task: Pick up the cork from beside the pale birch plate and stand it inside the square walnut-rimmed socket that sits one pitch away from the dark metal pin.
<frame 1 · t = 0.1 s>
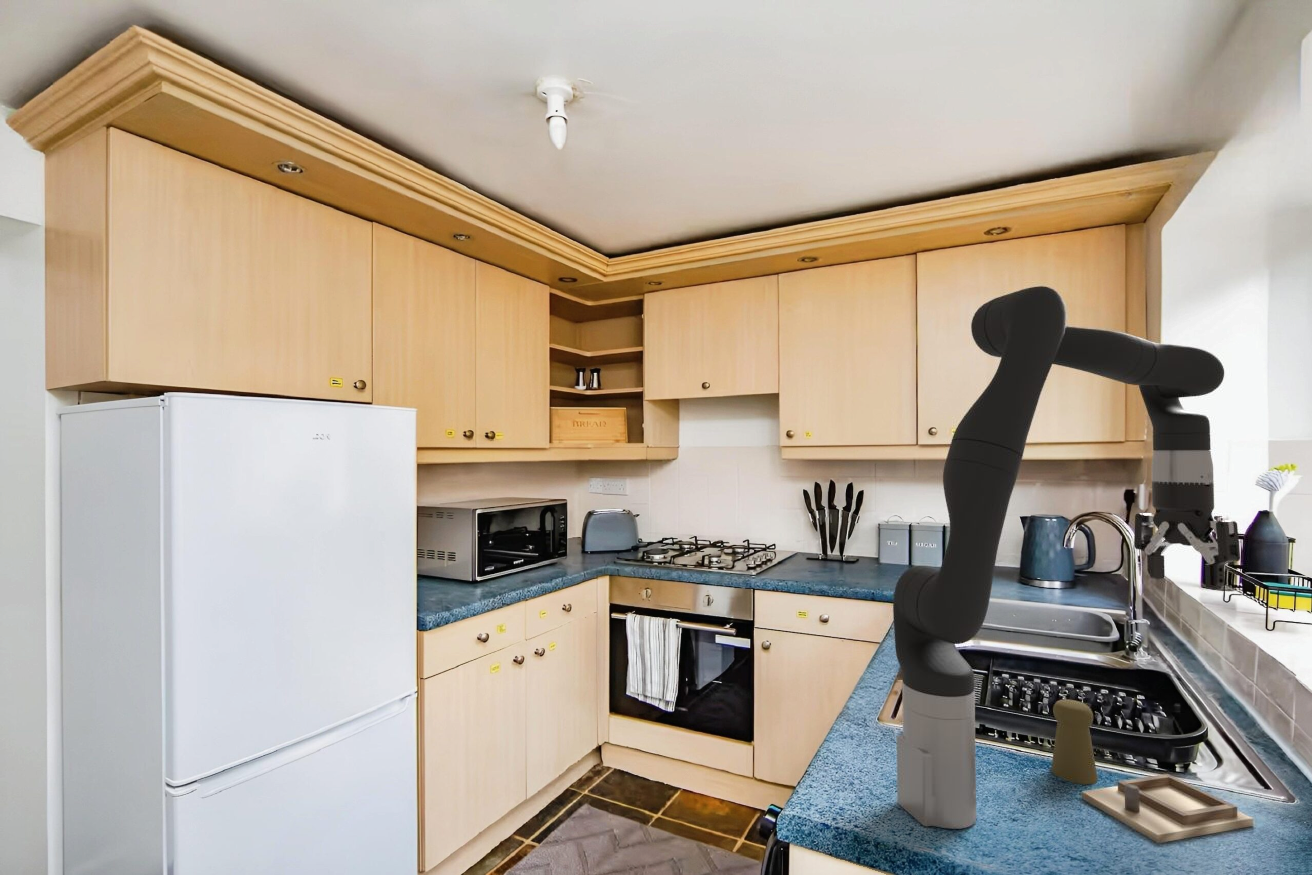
hand: (1184, 583, 101), 29 cm above the worktop, tool pointing down, fingers open, 8 cm apart
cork: (1074, 775, 99), on the worktop
socket plate: (1164, 811, 89), on the worktop
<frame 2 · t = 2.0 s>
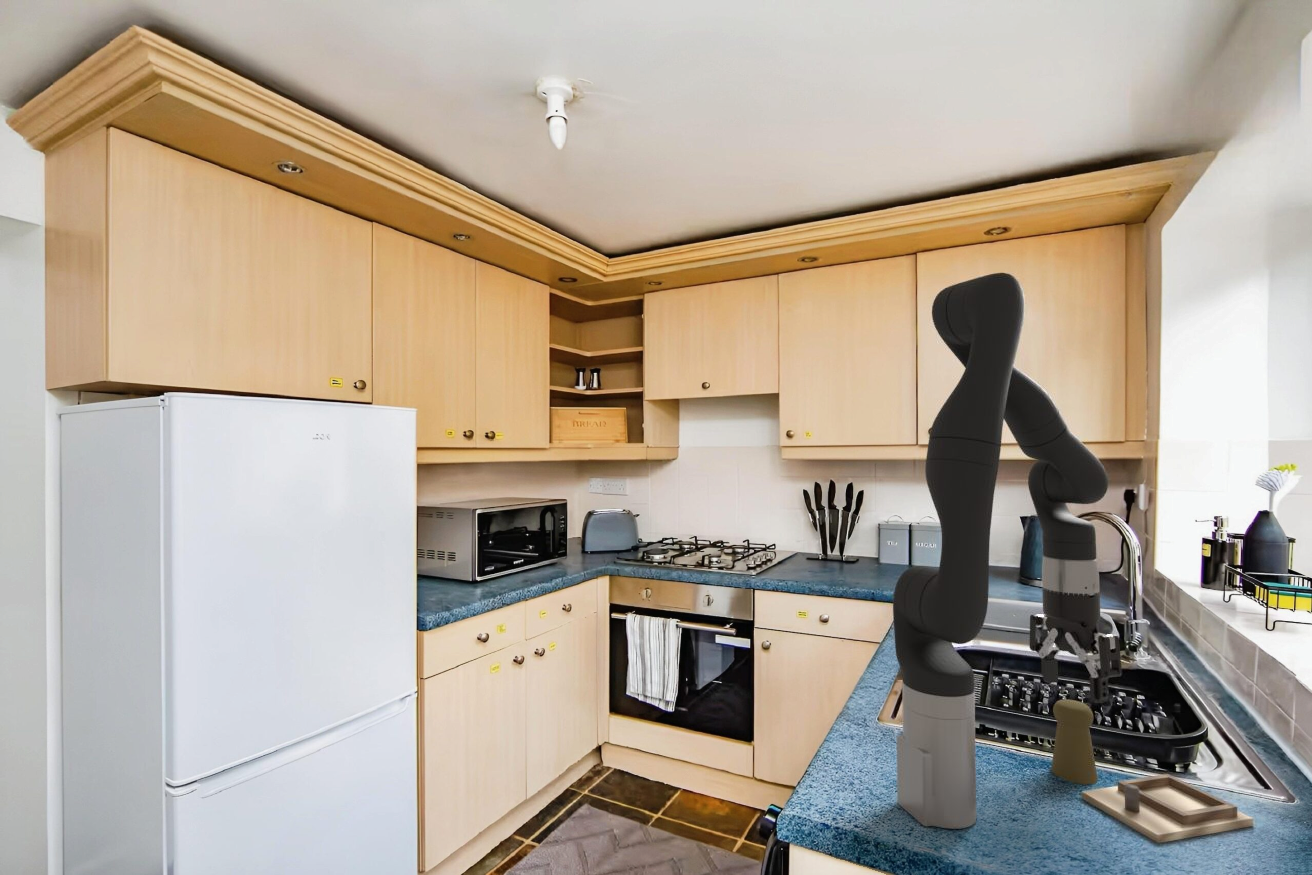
hand: (1073, 691, 100), 13 cm above the worktop, tool pointing down, fingers open, 8 cm apart
nothing on the worktop moved.
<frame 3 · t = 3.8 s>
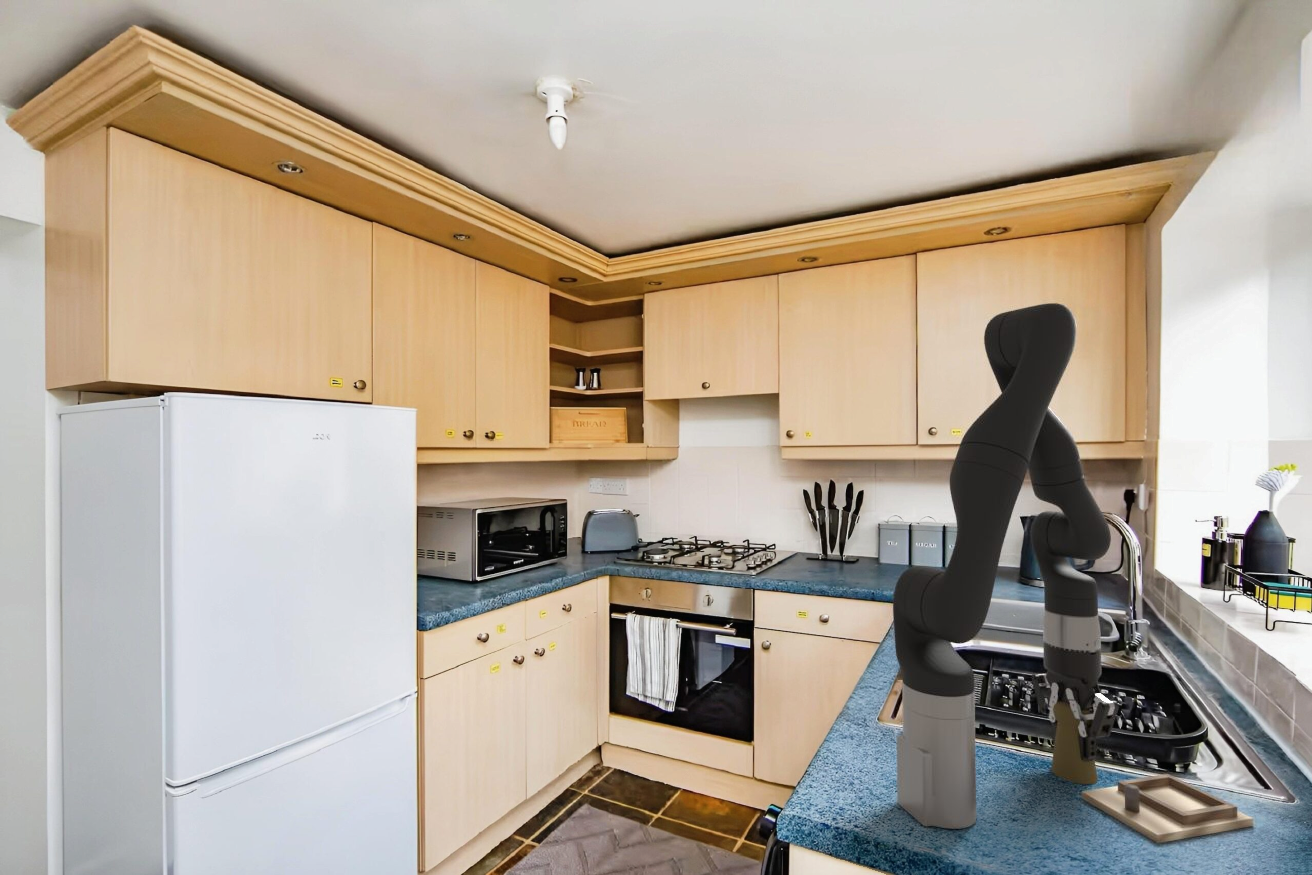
hand: (1073, 752, 99), 3 cm above the worktop, tool pointing down, fingers closed on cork, 4 cm apart
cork: (1074, 775, 99), on the worktop, touching gripper
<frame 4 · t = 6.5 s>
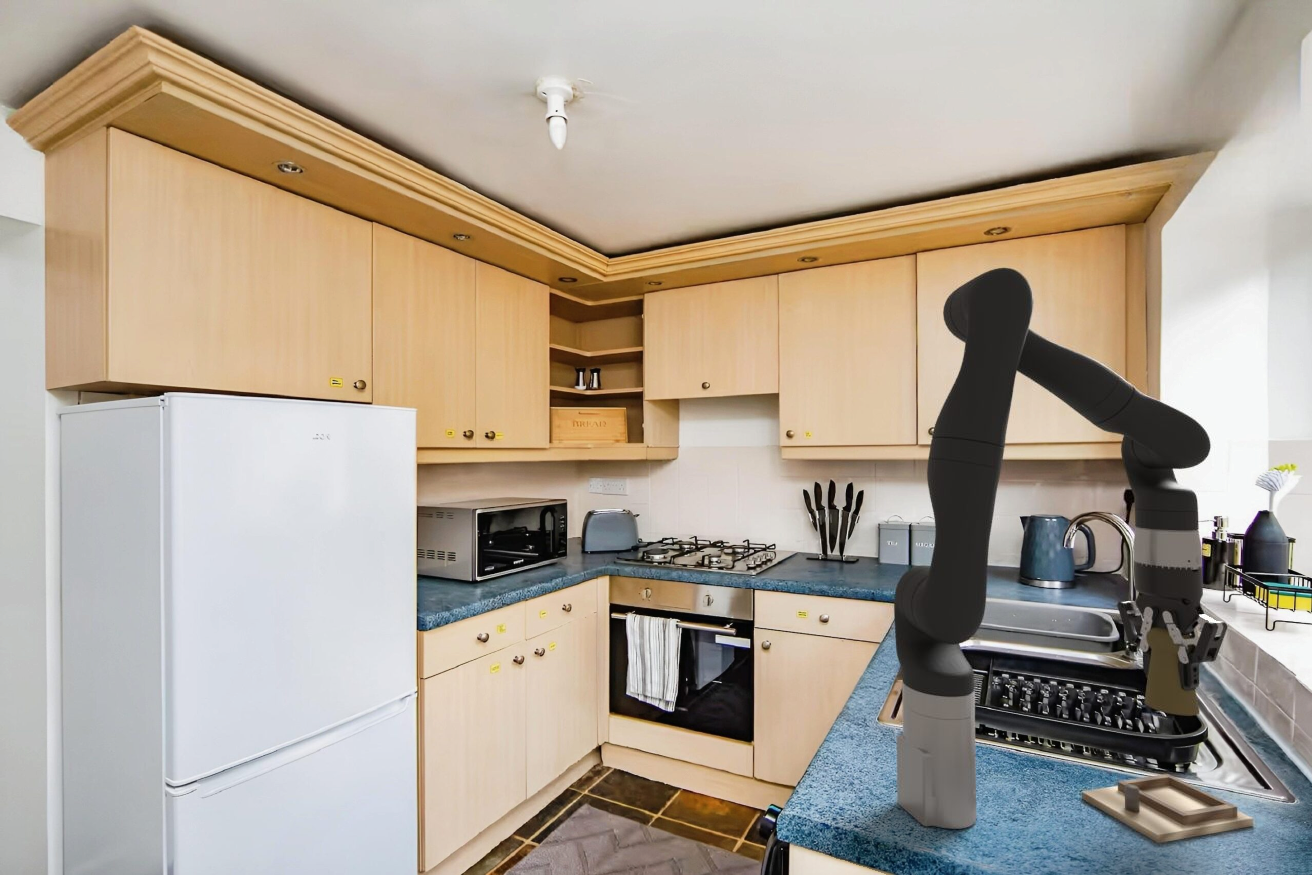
hand: (1170, 683, 90), 17 cm above the worktop, tool pointing down, fingers closed on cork, 4 cm apart
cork: (1171, 708, 90), point 14 cm above the worktop, touching gripper
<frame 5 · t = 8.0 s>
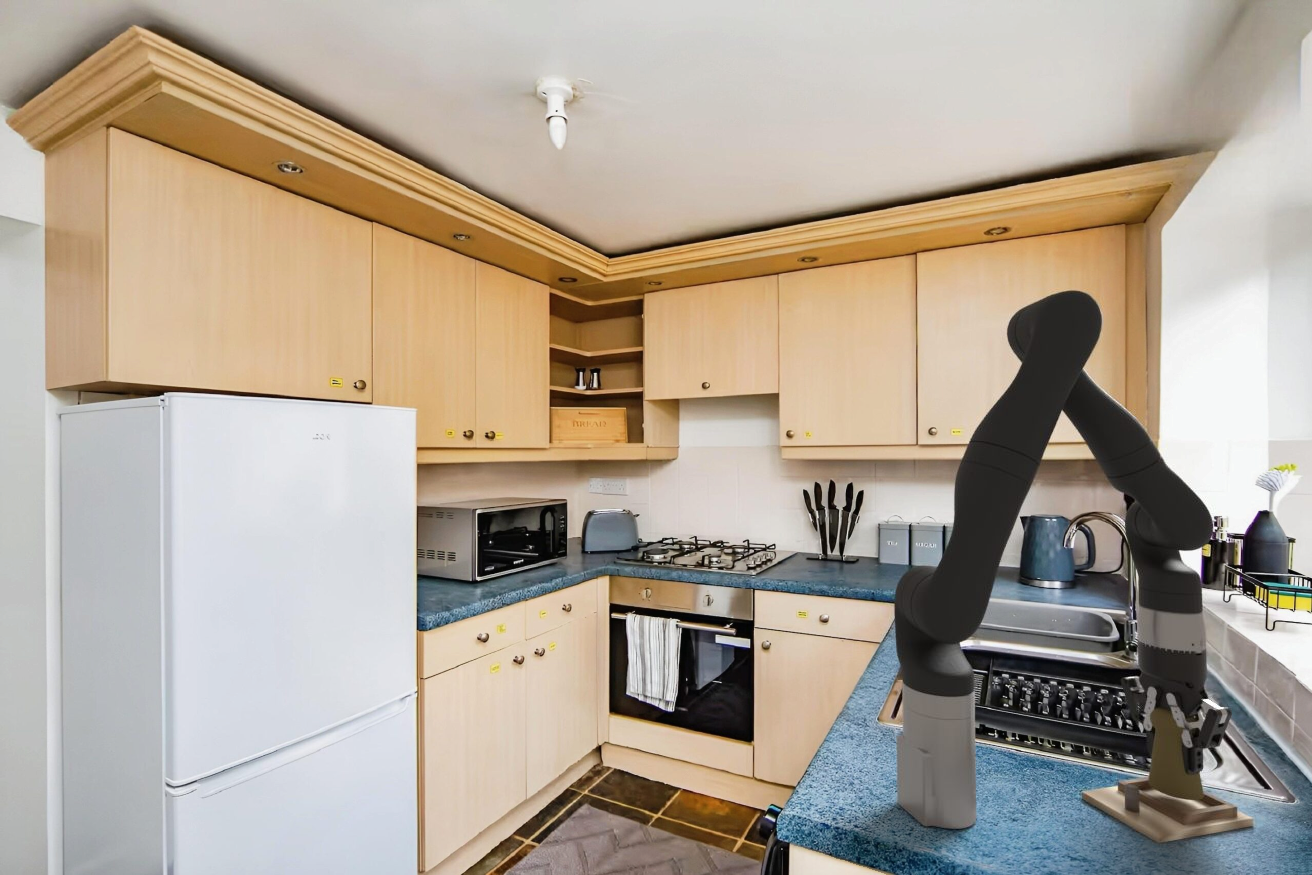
hand: (1174, 764, 90), 6 cm above the worktop, tool pointing down, fingers closed on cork, 4 cm apart
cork: (1175, 789, 89), point 3 cm above the worktop, touching gripper
when the fingers open (5 cm above the worktop, at t = 9.3 s): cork stays where it is, resting on socket plate.
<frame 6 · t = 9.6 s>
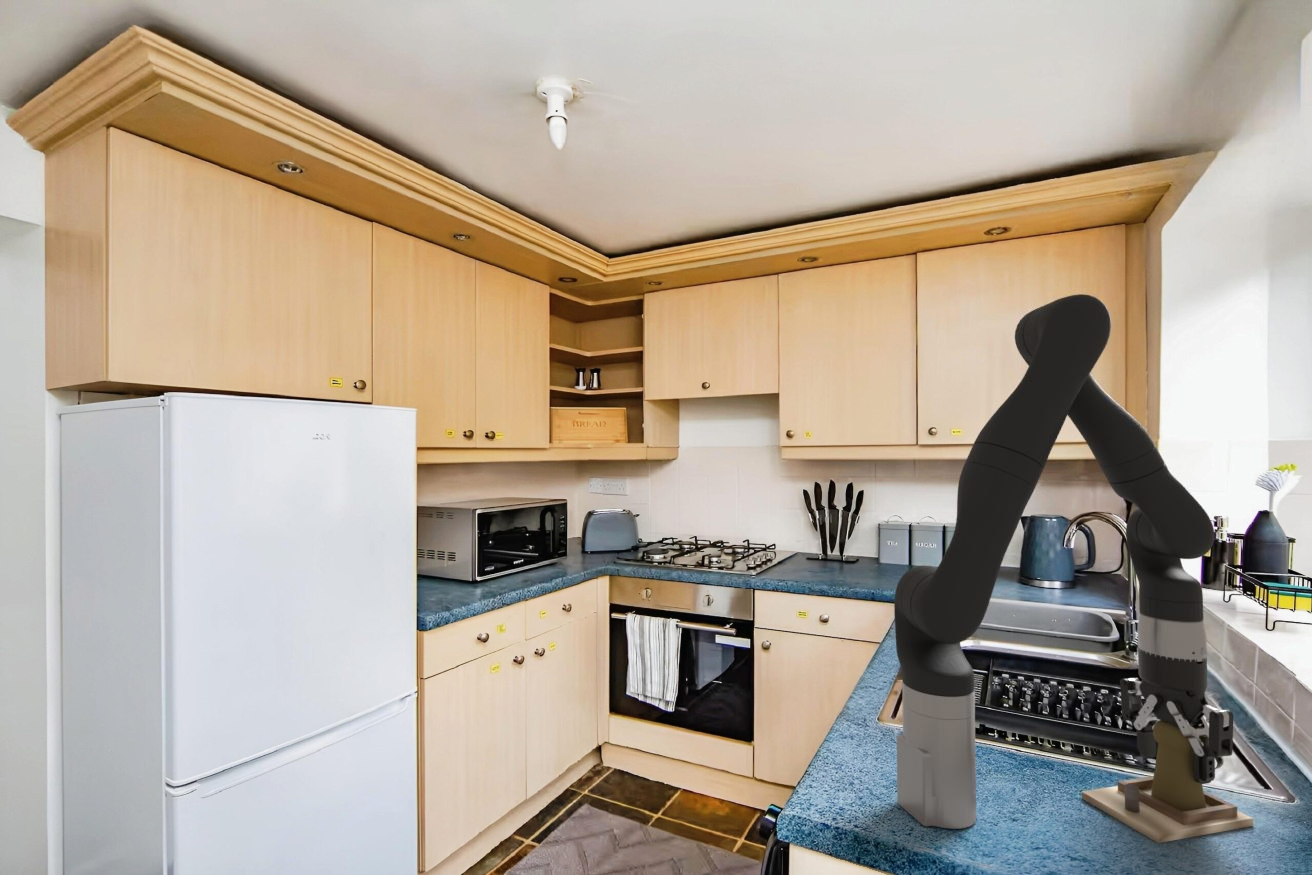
hand: (1174, 768, 89), 6 cm above the worktop, tool pointing down, fingers open, 7 cm apart
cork: (1178, 805, 89), point 1 cm above the worktop, touching socket plate
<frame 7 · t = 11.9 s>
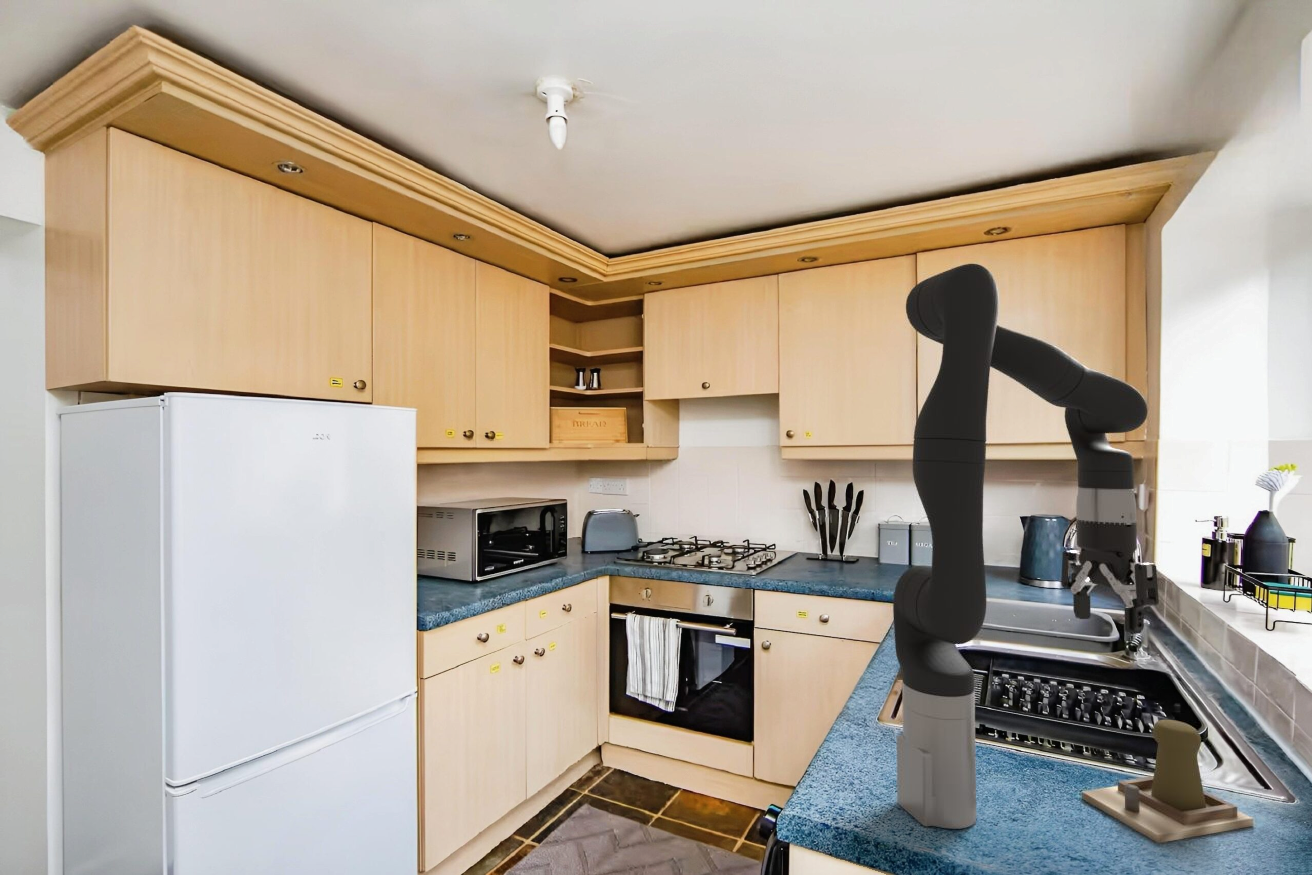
hand: (1107, 625, 98), 23 cm above the worktop, tool pointing down, fingers open, 8 cm apart
nothing on the worktop moved.
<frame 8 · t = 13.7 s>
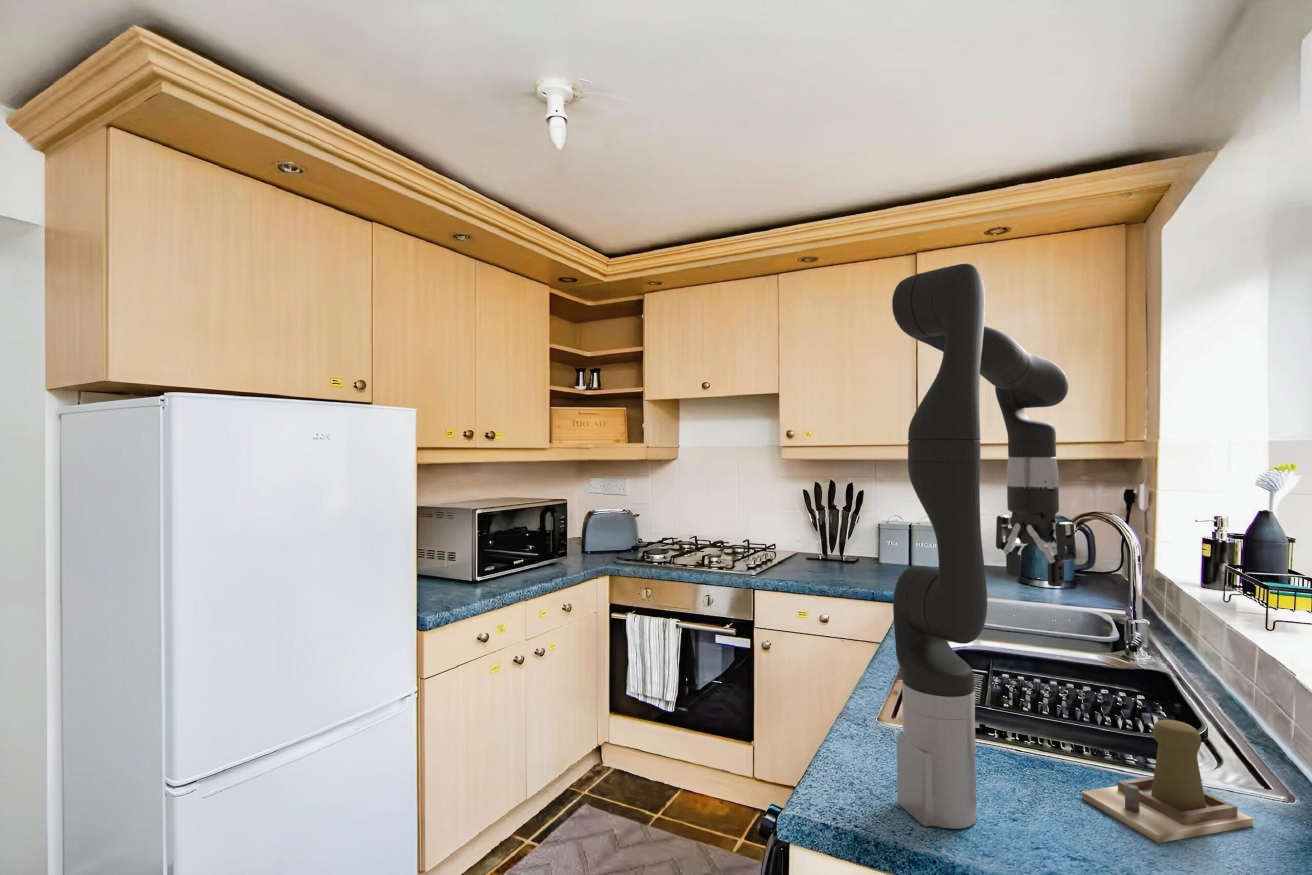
hand: (1034, 580, 108), 28 cm above the worktop, tool pointing down, fingers open, 8 cm apart
nothing on the worktop moved.
at the end: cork 0.4 cm from the target spot on the socket plate, point 0.8 cm above the socket plate's base; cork tilted 0°; the gripper is holding nothing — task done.
